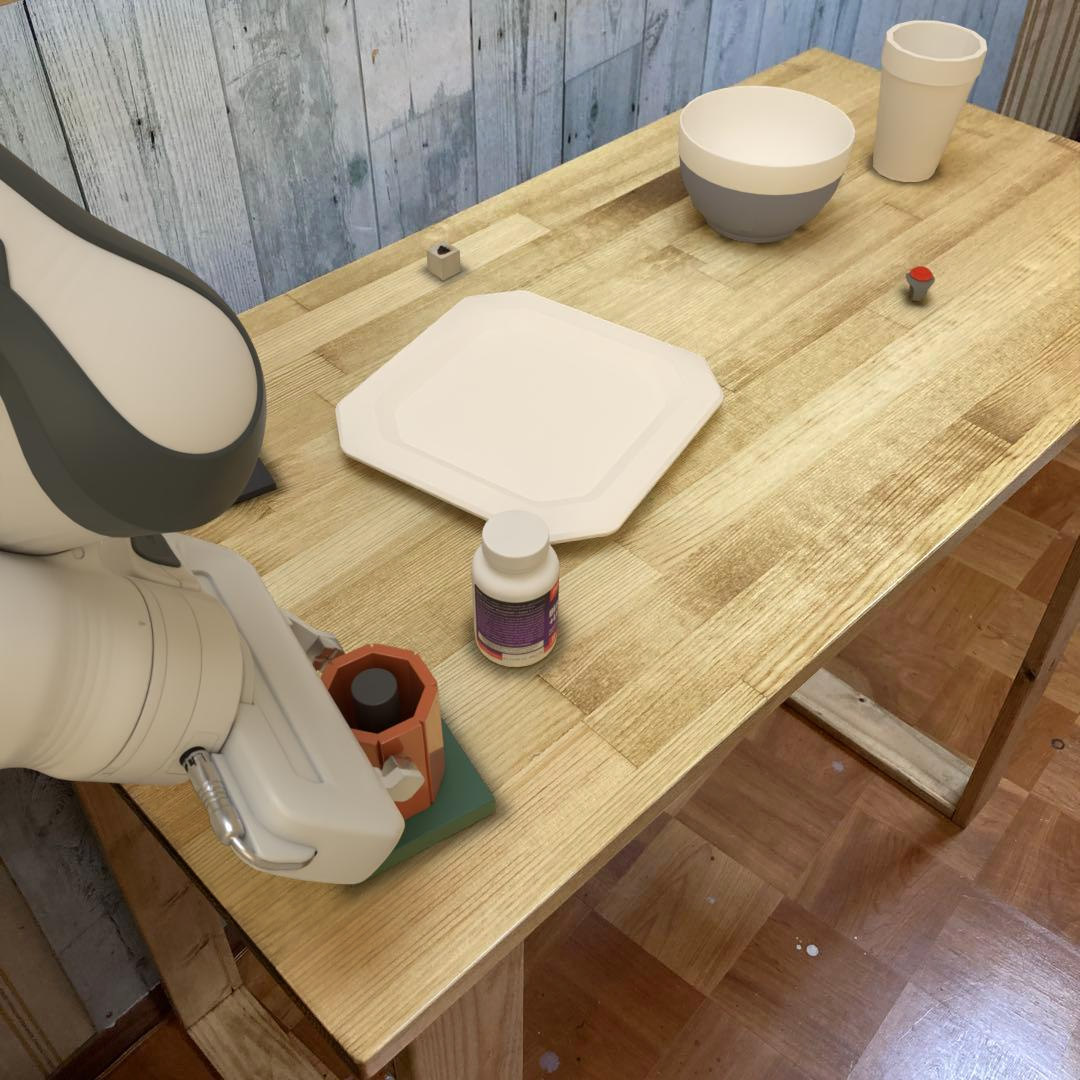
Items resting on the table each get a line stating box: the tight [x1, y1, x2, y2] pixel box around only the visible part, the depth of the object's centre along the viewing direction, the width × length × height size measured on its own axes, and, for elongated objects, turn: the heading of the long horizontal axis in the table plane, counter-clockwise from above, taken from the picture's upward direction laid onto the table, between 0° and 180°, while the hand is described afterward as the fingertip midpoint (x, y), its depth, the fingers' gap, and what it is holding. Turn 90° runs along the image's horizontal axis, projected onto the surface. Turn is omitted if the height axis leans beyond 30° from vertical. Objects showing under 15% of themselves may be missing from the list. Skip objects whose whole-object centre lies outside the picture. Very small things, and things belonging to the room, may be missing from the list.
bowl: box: [677, 85, 856, 244], centre depth 106 cm, size 16×16×10 cm
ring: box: [905, 265, 936, 302], centre depth 100 cm, size 2×3×3 cm
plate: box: [334, 289, 725, 546], centre depth 88 cm, size 25×25×2 cm
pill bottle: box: [470, 510, 561, 668], centre depth 70 cm, size 5×5×10 cm
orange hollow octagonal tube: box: [320, 642, 446, 820], centre depth 62 cm, size 6×6×8 cm
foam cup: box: [872, 20, 988, 183], centre depth 112 cm, size 10×9×13 cm
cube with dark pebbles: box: [426, 240, 462, 281], centre depth 102 cm, size 2×2×2 cm
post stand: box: [350, 668, 496, 888], centre depth 62 cm, size 9×9×10 cm
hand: (371, 714), depth 61 cm, fingers open, 8 cm apart
